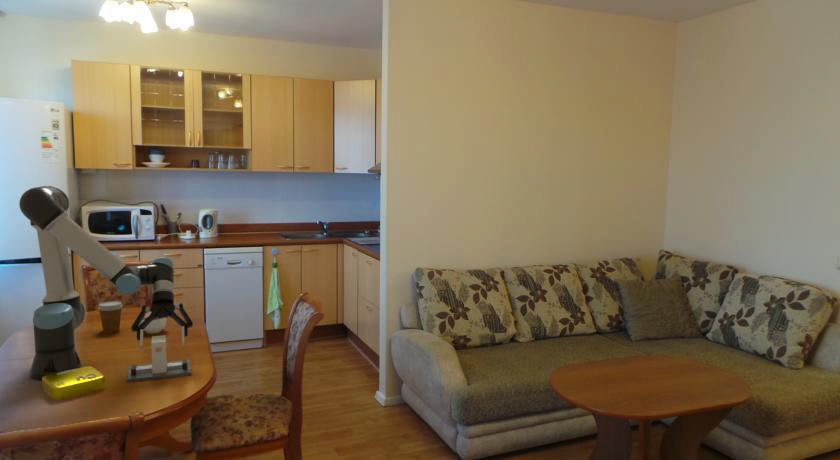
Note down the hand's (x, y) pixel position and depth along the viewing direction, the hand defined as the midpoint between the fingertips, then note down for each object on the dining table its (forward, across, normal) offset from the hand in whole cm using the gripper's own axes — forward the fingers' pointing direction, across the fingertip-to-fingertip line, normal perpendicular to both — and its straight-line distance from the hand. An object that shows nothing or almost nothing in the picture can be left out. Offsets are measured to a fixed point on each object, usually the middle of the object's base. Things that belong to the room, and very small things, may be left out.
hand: (162, 346), depth 201 cm
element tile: (+12, +26, -2) cm, 29 cm away
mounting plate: (+7, +1, -6) cm, 9 cm away
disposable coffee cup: (-35, +22, -50) cm, 65 cm away
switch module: (+6, +1, -5) cm, 8 cm away
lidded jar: (-30, +5, -44) cm, 54 cm away
